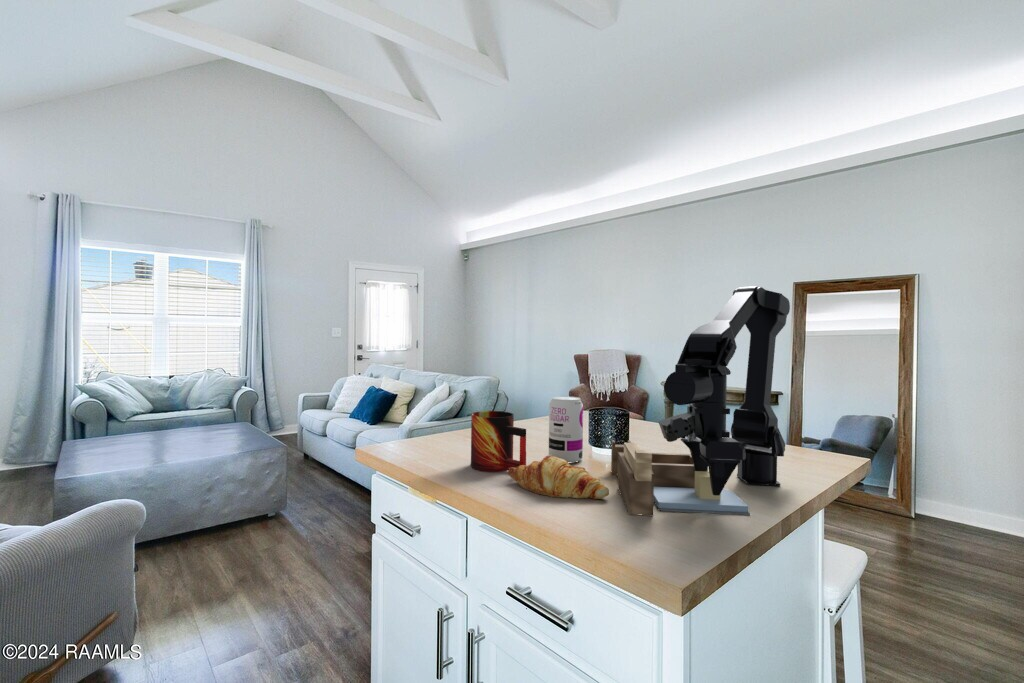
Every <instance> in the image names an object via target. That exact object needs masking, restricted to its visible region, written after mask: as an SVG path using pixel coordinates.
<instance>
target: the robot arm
mask: <svg viewBox="0 0 1024 683" xmlns="http://www.w3.org/2000/svg"><path fill="white" fill-rule="evenodd" d="M790 307H791V303H790V300H789V299H788V297H786V296H785V295H783V293H780V292H776V291H772V290H768V289H765V288H764V287H761V286H758V285H755V286H740V287H738V288H735V289H734V290H733V292H732V296H731V297H730V299H729V300H728V301H727V303H726V304H725V305H724V306H723V308H721V310H720V311H719V313H718V314H717V315H716V316H715V317H714V318H713V320H712V321H711V322H708V323H706V324H703V325H700V326H698V327H697V328H696V329H694V330H693V331H692V332H691V333H690V334H689V335H688V337H687V339H686V342H685V344H684V346H683V349H682V351H681V353H680V356H679V358H678V360H677V363H676V364H675V365H674V366H675V367H674V368H675V369H674V370H675V371H673V372H671V373H670V374H669V375H668V376H667V378H665V379H666V380H665V382H664V383H663V384H664V385H663V389H664V394H665V396H666V398H667V399H668V400H669V401H670V402H671V403H672V404H675V405H677V406H686V405H687V407H686V408H687V409H686V410H687V411H686V412H684V413H681V414H680V413H679V414H676V415H673V416H670V417H668V418H665V419H661V420H659V421H658V425H659V428H660V430H661V434H662V437H663V439H665V440H666V441H667V442H668V443H671V442H675V441H678V440H679V439H680V441H681V442H682V443H683V444H684V445H685V446H686V447H687V448H688V449H689V452H690V453H689V454H691V456H692V460H693V465H694V469H695V471H707V468H708V472H709V475H710V482H711V489H712V494H713V495H717V496H719V495H720V494H721V492H722V490H723V489H725V487H726V485H727V483H728V481H729V479H730V477H731V476H732V474H733V473H734V471H735V470H736V468H737V473H736V477H737V478H739V479H740V480H742V481H743V482H744V483H745V484H747V485H753V486H756V485H757V486H778V487H779V486H781V482H779V480H778V477H777V476H778V457H784V456H785V451H786V442H785V440H784V438H783V436H782V434H781V431H780V429H779V427H778V425H779V420H778V416H777V415H776V413H775V412H774V410H773V408H772V406H771V398H772V397H771V396H772V384H773V375H774V374H773V373H774V362H775V353H776V352H775V349H776V341H777V340H776V337H777V336H778V334H779V333H780V332H782V329H784V327H785V326H786V323H787V318H788V315H789V313H790V309H791V308H790ZM744 326H746V328H747V330H748V332H749V333H750V337H749V347H748V348H749V350H748V359H747V371H746V382H745V392H744V393H745V395H744V401H743V403H742V404H741V406H739V408H735V409H734V411H733V412H732V413H733V416H732V417H733V420H732V422H731V423H732V424H731V427H730V431H729V430H727V429H726V428H727V415H731V408H729V407H727V385H728V384H727V383H728V382H727V378H728V377H727V376H729V375H731V374H732V372H731V370H730V369H729V368H728V365H729V363H730V361H731V360H732V358H733V357H734V355H735V353H736V350H737V348H738V347H737V342H736V338H737V335H738V334H739V333H740V332H741V330H742V329H743V327H744ZM730 434H731V435H730ZM730 436H731V437H730Z"/></svg>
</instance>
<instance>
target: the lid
mask: <svg viewBox="0 0 1024 683" xmlns="http://www.w3.org/2000/svg"><path fill="white" fill-rule="evenodd" d="M654 501H655V503H656V504H655V503H654V504H655V506H656V505H657V506H658V508H670V509H692V510H713V511H735V512H749V511H750V509H749V508H750V506H749V504H747V503H746V502H744V501H743V499H742V498H740V497H739V496H738V495H737V494H736V493H734V491H732V490H731V489H727V488H726V489H725V488H723V490H722V492H721V494H720V495H719V496H717V495H713V494H712V489H711V482H710V475H709V471H708V472H707V471H695V488H678V487H654ZM657 506H656V507H657ZM658 508H657V509H658ZM749 513H750V512H749Z"/></svg>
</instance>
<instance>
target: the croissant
mask: <svg viewBox="0 0 1024 683" xmlns="http://www.w3.org/2000/svg"><path fill="white" fill-rule="evenodd" d="M508 475H509V477H510V478H511V479H513V480H514V481H515V482H516V483H517V484H518V485H519V487H520V488H523V489H524V490H528V491H530V492H532V493H535V494H539V495H544V496H548V497H551V496H552V497H551V498H559V497H565V498H566V499H569V498H568V497H573V499H575V498H576V499H584V498H585V499H587V498H591V499H593V500H598V499H604V498H607V497H608V496H609V495H610V489H609V487H607V486H606V485H605V484H604V483H603V482H602V481H601V479H600V478H598V477H594V476H593V475H591V474H590V473H589V472H588V471H587V469H586V468H585V467H582V466H573V465H571V464H569V463H568V462H567V461H565V460H564V459H561V458H558V457H554V456H553V457H551V456H549V455H546V456H545V457H543V458H542V459H541V461H538V460H535V461H532V462H531V463H530V464H528V465H527V464H526V465H520V466H518V467H517V468H514V467H511V468H509V470H508Z"/></svg>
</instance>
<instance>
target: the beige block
mask: <svg viewBox="0 0 1024 683" xmlns="http://www.w3.org/2000/svg"><path fill="white" fill-rule="evenodd" d="M623 445H624V459H625V460H626V462H627V464H628V466H629V468H630V469H631V471H632V473H633V476H634V477H635V479H636V481H651V477H652V453H653V452H652V451H651V450H650V449H649V450H648V449H645V450H644V449H642V448H641V447H640V445H639V444H638V443H637V442H631V443H628V442H624V443H623Z"/></svg>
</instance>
